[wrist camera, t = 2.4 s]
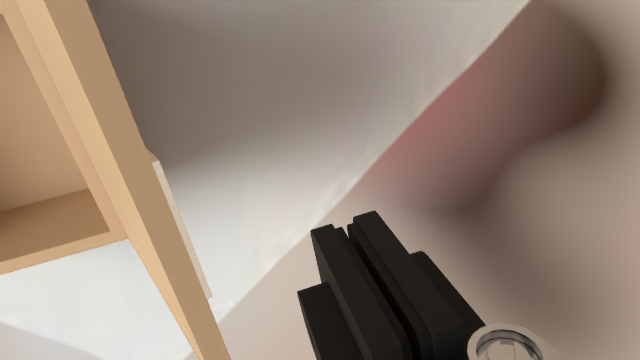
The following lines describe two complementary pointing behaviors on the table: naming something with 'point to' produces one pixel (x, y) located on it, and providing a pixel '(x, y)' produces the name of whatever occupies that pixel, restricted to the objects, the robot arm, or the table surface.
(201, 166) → the table surface
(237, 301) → the table surface
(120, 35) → the table surface
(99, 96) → the lid
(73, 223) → the box
